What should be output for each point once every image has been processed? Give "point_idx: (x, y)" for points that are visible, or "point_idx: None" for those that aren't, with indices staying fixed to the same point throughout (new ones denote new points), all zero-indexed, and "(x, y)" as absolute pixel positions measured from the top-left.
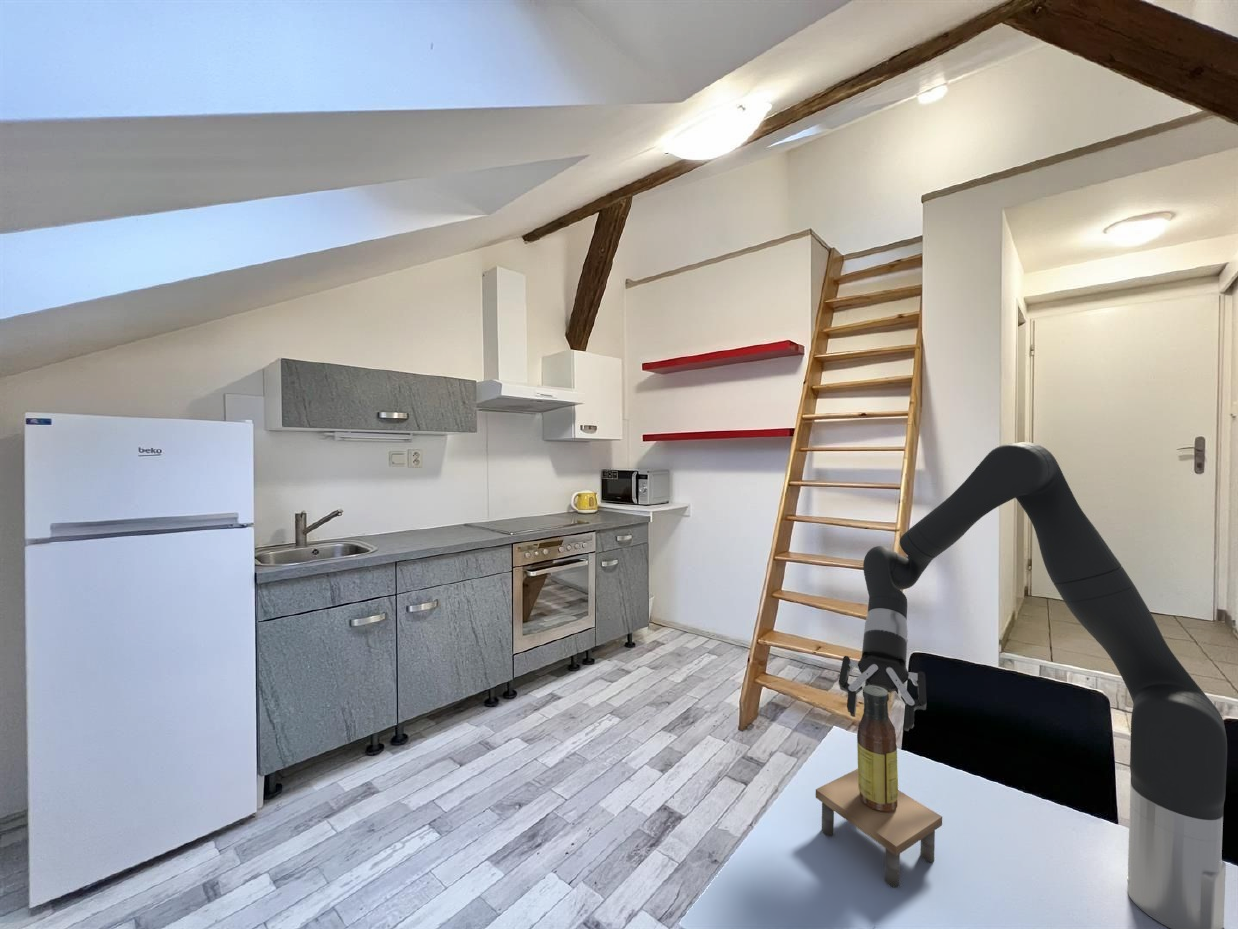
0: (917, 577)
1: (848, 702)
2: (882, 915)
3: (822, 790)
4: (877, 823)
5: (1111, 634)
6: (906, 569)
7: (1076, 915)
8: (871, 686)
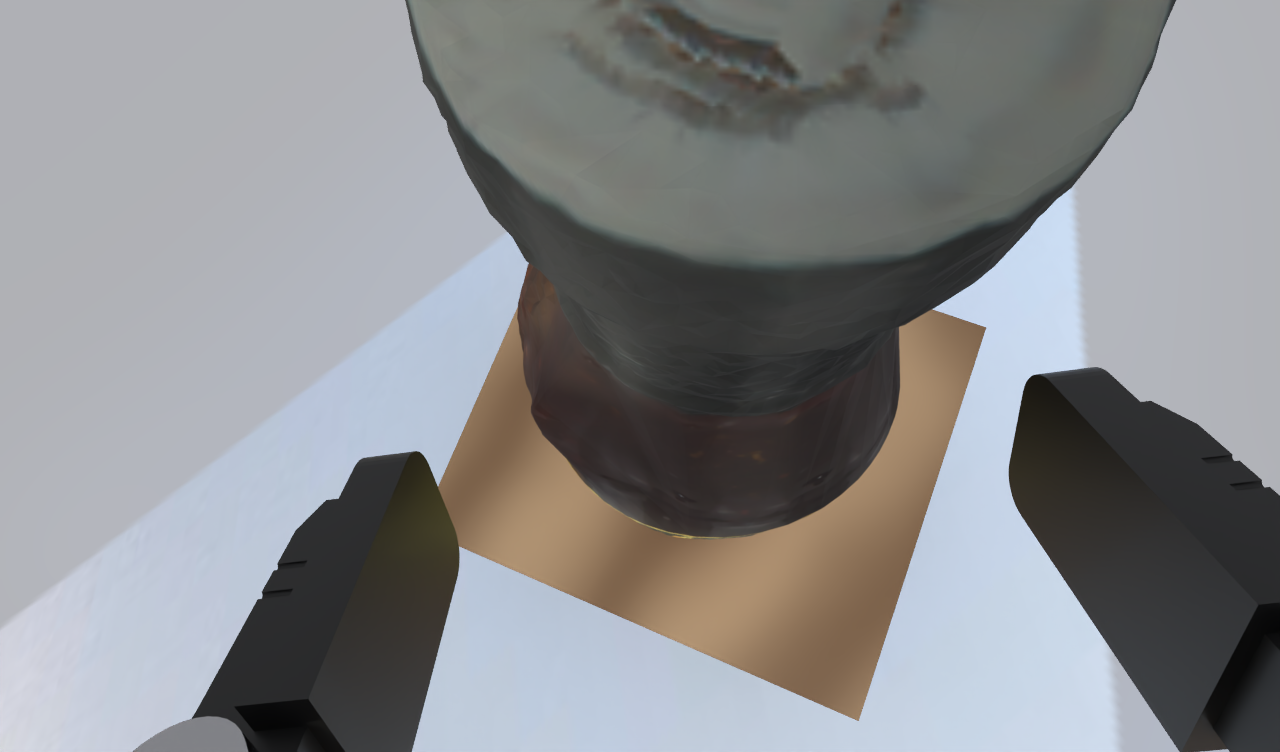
0: None
1: (1223, 464)
2: None
3: (953, 341)
4: None
5: None
6: None
7: (127, 545)
8: (978, 74)
